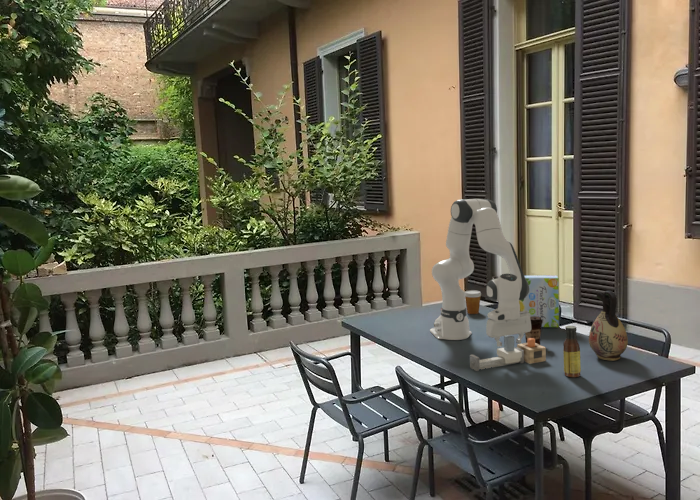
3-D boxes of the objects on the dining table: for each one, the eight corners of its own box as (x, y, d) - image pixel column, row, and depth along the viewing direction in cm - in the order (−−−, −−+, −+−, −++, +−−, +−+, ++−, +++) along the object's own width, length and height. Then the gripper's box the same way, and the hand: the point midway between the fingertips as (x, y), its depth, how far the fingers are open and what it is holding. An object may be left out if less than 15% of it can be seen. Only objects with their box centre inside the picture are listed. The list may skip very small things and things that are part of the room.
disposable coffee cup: (471, 309, 350) (471, 289, 348) (485, 312, 343) (484, 291, 341) (460, 313, 344) (460, 292, 342) (474, 315, 337) (474, 294, 335)
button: (525, 349, 263) (525, 338, 262) (532, 348, 264) (532, 337, 263) (530, 351, 260) (530, 340, 259) (536, 350, 261) (536, 339, 260)
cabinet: (517, 357, 266) (517, 344, 265) (532, 354, 268) (532, 341, 267) (530, 363, 257) (530, 350, 256) (545, 361, 259) (546, 347, 259)
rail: (470, 367, 256) (469, 354, 255) (516, 359, 263) (516, 347, 262) (476, 371, 251) (476, 358, 250) (523, 362, 258) (523, 350, 258)
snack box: (558, 323, 315) (558, 274, 311) (559, 328, 306) (559, 278, 302) (514, 322, 320) (514, 274, 316) (514, 327, 312) (514, 277, 308)
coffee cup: (543, 348, 276) (543, 320, 275) (524, 347, 278) (524, 320, 276) (541, 342, 285) (541, 315, 283) (523, 342, 287) (523, 315, 285)
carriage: (496, 358, 262) (496, 335, 260) (510, 356, 264) (510, 332, 262) (507, 364, 254) (507, 340, 252) (521, 361, 256) (521, 337, 255)
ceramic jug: (582, 353, 268) (582, 286, 263) (616, 350, 269) (617, 284, 264) (600, 365, 251) (601, 294, 247) (636, 363, 252) (638, 292, 247)
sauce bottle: (583, 374, 242) (583, 326, 239) (576, 379, 237) (577, 330, 234) (566, 371, 246) (567, 323, 243) (560, 375, 242) (560, 327, 239)
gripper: (525, 308, 262) (525, 339, 264) (484, 314, 256) (484, 345, 258) (534, 311, 256) (534, 343, 258) (492, 317, 250) (492, 350, 252)
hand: (509, 344), depth 258 cm, fingers open, 8 cm apart
